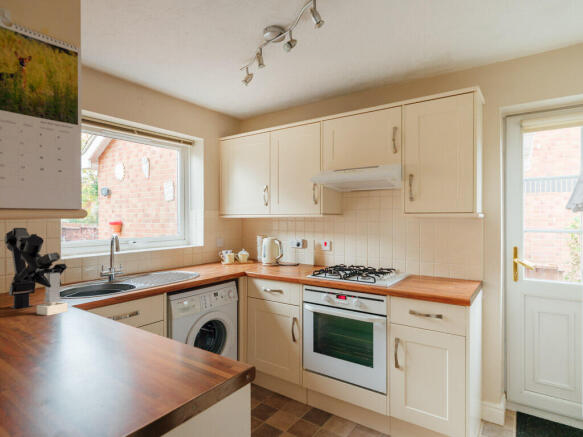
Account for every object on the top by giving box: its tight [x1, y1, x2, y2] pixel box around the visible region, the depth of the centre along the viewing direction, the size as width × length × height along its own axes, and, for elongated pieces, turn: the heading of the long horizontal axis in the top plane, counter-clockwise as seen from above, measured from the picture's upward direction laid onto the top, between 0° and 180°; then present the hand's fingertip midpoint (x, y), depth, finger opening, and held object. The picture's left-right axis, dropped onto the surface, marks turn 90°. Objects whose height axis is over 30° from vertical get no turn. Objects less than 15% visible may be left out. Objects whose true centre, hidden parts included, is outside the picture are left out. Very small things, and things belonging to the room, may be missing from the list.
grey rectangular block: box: [43, 273, 62, 303], centre depth 144 cm, size 4×4×12 cm
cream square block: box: [36, 301, 69, 316], centre depth 143 cm, size 8×8×4 cm
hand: (55, 285), depth 144 cm, fingers closed on grey rectangular block, 5 cm apart
